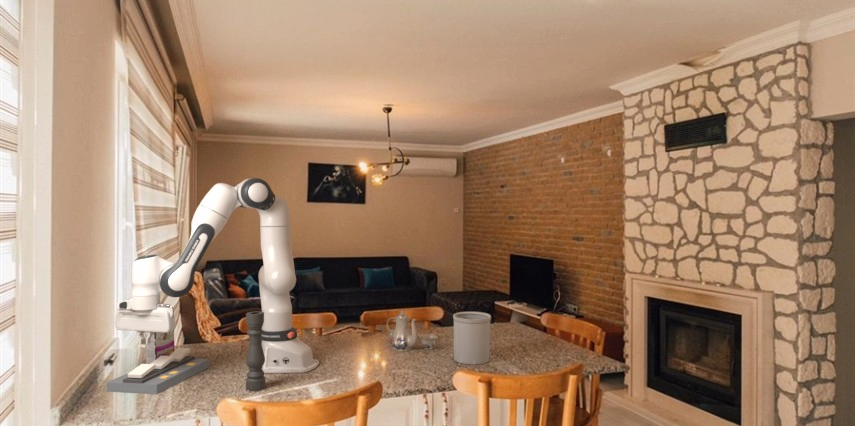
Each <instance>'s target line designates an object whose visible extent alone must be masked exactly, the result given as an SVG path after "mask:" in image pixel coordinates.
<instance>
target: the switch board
mask: <svg viewBox="0 0 855 426" xmlns="http://www.w3.org/2000/svg"><path fill="white" fill-rule="evenodd" d="M209 367H210V359H209V358H196V355H186V356H185V357H184V358H183V359H182V360H181V361H180V362H178V361H171V362H170V363H169V364H168V365H166V366H165V367H164V368H162V369H153V370H152V371H150V372H149V373H148V374H147V375H145V376H144V377H143V378H129V377H128V373H129V372H128V373H125V374H123V375H121V376H118V377H116V378H113V379H111V380H109V381H107V382H106V392H111V393H113V392H114V393H128V394H129V393H130V394H143V395H144V394H148V395H149V394H150V395H158V394H159V393H162V392H164V391H165V390H168V389H169V388H172V387H174V386H176V385H177V384H179V383H181V382H183V381H186V380H187V379H189V378H190V377H194V376H195V375H197V374H199V373H200V372H202V371H204V370H206V369H207V368H208V369H209Z"/></svg>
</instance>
